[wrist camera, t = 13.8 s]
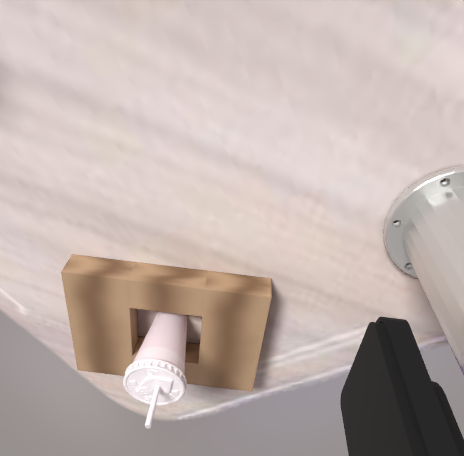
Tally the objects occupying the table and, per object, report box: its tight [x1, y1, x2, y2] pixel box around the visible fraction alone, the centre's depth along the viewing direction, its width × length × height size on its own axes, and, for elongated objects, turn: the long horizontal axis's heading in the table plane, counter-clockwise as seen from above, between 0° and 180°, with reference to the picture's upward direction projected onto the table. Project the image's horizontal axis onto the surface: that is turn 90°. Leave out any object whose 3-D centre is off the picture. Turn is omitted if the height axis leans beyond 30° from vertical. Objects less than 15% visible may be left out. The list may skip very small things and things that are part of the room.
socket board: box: [61, 254, 272, 391], centre depth 49 cm, size 22×16×3 cm
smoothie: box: [123, 311, 187, 428], centre depth 44 cm, size 6×6×14 cm
